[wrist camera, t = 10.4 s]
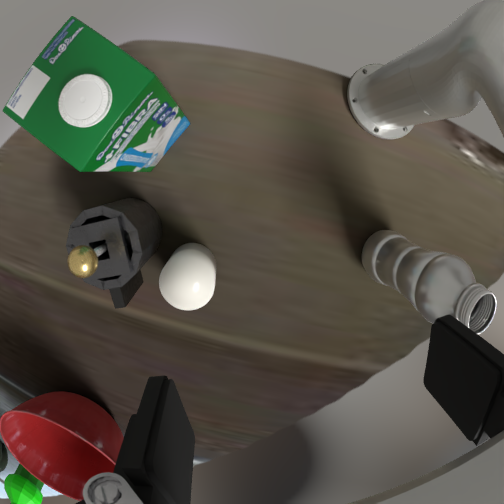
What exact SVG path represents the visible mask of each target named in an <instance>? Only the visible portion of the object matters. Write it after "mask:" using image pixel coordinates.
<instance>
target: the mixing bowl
mask: <svg viewBox="0 0 504 504" xmlns="http://www.w3.org/2000/svg"><path fill="white" fill-rule="evenodd" d="M0 432H1V435H2V438H3V440H4V442H5V444H6V446H7V447H8V449H9V450H10V452H11V453H12V454H13V456H14V457H15V458H16V459H17V460H18V461H19V463H20V464H21V465H22V466H23V467H24V468H25V469H27V470H28V471H29V472H30V473H31V474H32V475H34V476H35V477H36V478H37V479H39V480H40V481H42V482H43V483H44V484H46V485H48V486H49V487H51V488H52V489H54V490H56V491H58V492H60V493H62V494H64V495H66V496H68V497H70V498H73V499H75V500H78V501H82V500H83V499H84V497H83V488H84V486H85V484H86V483H87V481H88V480H89V479H90V478H92V477H93V476H95V475H97V474H100V473H106V472H110V473H113V471H114V467H115V464H116V461H117V458H118V454H119V451H120V448H121V445H122V442H123V439H124V437H123V434H122V432H121V430H120V428H119V426H118V425H117V423H116V422H115V420H114V419H113V418H112V417H111V416H110V415H109V414H108V413H107V412H106V411H105V410H104V409H103V408H102V407H100V406H99V405H98V404H96V403H95V402H93V401H91V400H90V399H88V398H86V397H83V396H81V395H78V394H75V393H71V392H64V391H58V392H51V393H46V394H43V395H40V396H37V397H35V398H32V399H30V400H28V401H26V402H24V403H22V404H20V405H19V406H17V407H15V408H14V409H12V410H11V411H7V412H5V413H4V414H3V415H2V416H1V418H0Z"/></svg>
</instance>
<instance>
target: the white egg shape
mask: <svg viewBox="0 0 504 504" xmlns="http://www.w3.org/2000/svg"><path fill="white" fill-rule="evenodd" d="M216 268H217V265H216V260H215V257H214V255H213V253H212V252H211V251H210V250H209V249H208V248H207V247H205V246H203V245H201V244H198V243H187V244H184V245H182V246H180V247H178V248H177V249H176V250H175V251H174V253H173V254H172V256H171V257H170V259H169V260H168V262H167V263H166V265H165V266H164V268H163V270H162V271H161V274H160V278H159V287H160V291H161V293H162V295H163V297H164V298H165V300H166V301H167V302H168V303H169V304H171V305H172V306H174V307H176V308H178V309H182V310H195V309H198V308H200V307H202V306H204V305H205V304H206V303H207V302H208V301H209V300H210V299H211V297H212V295H213V292H214V288H215V278H216Z"/></svg>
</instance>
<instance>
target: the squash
mask: <svg viewBox="0 0 504 504" xmlns="http://www.w3.org/2000/svg"><path fill="white" fill-rule="evenodd" d="M7 462H8V455H7V450H6V448H5V446H4V445H3V444H2V443H1V441H0V472H1V471H3V470H4V469H5V468H6V465H7Z"/></svg>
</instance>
